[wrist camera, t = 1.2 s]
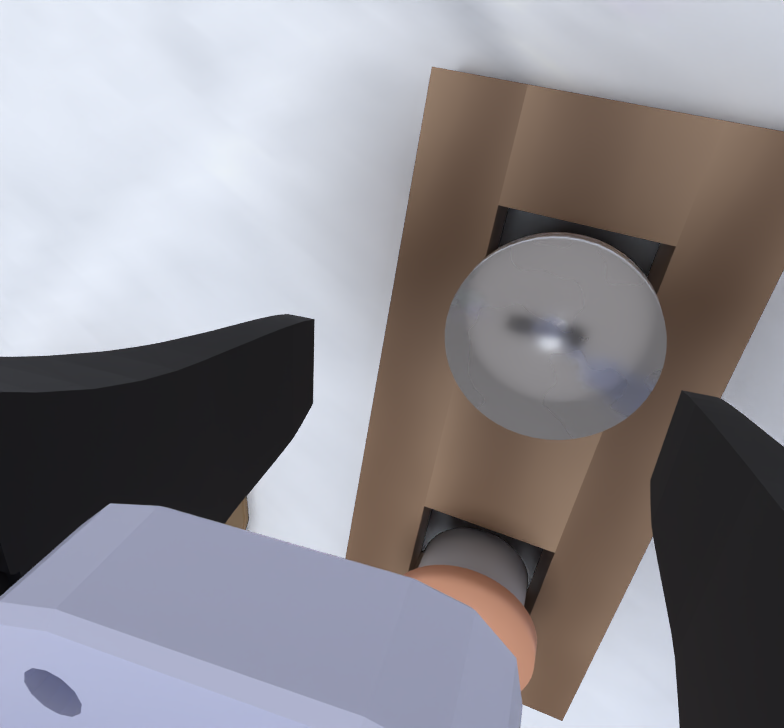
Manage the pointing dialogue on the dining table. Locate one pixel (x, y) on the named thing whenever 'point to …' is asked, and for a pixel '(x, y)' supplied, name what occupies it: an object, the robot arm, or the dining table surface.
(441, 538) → the terracotta plunger
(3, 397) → the robot arm
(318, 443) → the dining table surface
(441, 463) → the button panel
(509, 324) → the silver metal dome
